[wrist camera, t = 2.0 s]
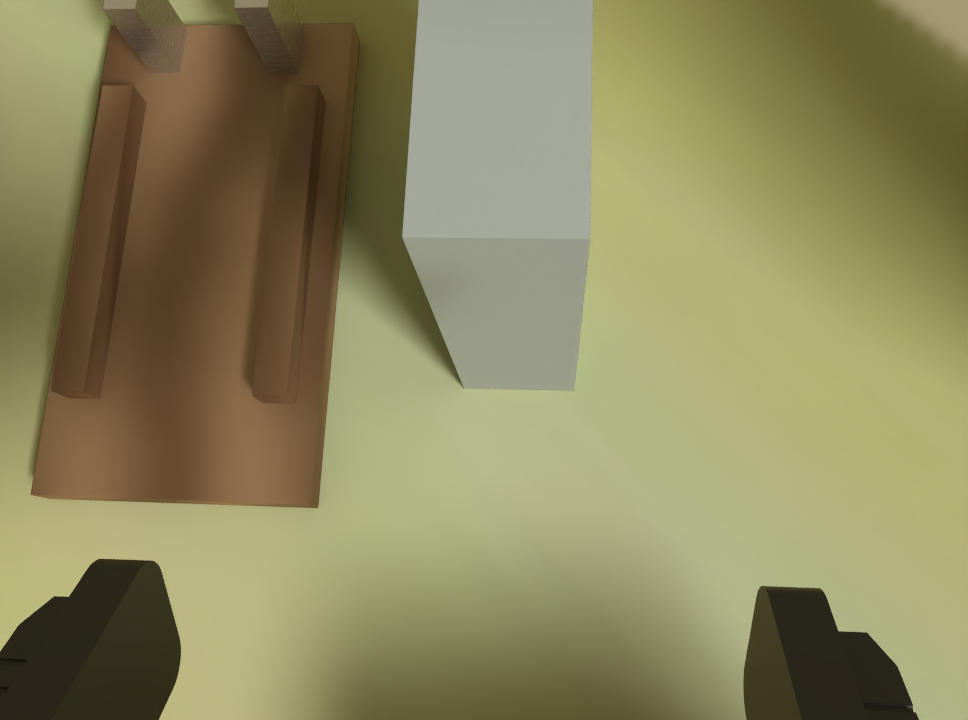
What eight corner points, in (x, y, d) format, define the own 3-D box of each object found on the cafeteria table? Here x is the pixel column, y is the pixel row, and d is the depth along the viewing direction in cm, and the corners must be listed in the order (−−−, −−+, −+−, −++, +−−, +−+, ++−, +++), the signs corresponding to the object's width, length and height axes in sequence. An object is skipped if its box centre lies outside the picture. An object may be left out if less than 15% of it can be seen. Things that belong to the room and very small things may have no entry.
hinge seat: (359, 41, 37) (328, -47, 32) (317, 507, 32) (274, 490, 27) (124, 43, 38) (59, -43, 33) (48, 498, 33) (-43, 479, 28)
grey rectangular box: (578, 118, 35) (594, -183, 22) (574, 391, 32) (589, 238, 19) (477, 118, 36) (431, -179, 22) (463, 388, 33) (402, 237, 19)
